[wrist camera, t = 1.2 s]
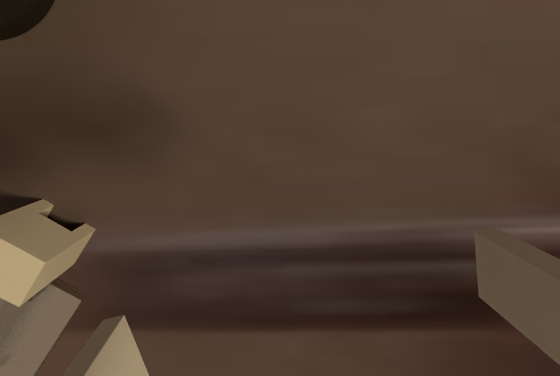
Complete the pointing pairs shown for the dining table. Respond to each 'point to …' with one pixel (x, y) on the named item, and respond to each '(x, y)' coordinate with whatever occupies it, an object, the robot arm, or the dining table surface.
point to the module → (35, 250)
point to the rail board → (35, 327)
